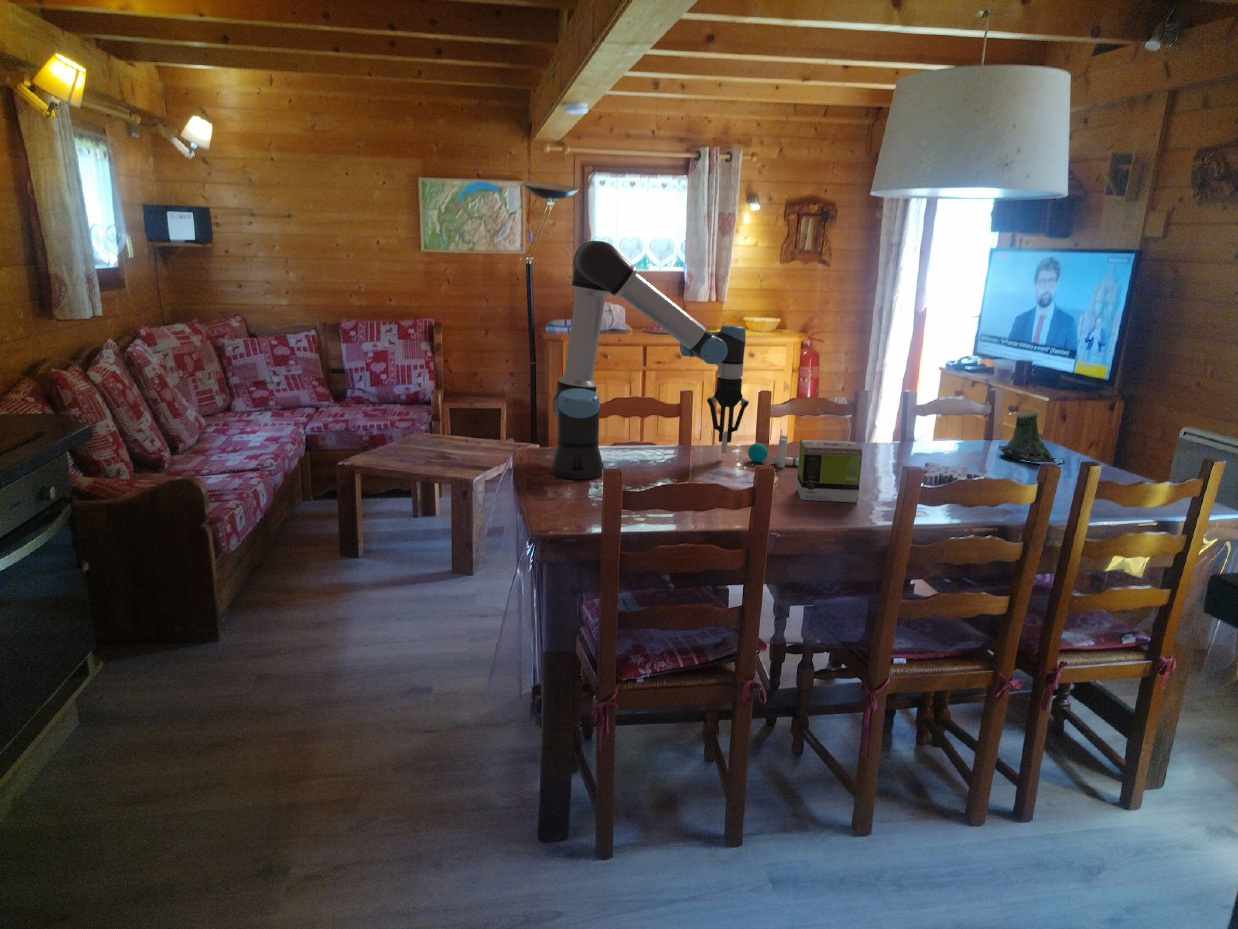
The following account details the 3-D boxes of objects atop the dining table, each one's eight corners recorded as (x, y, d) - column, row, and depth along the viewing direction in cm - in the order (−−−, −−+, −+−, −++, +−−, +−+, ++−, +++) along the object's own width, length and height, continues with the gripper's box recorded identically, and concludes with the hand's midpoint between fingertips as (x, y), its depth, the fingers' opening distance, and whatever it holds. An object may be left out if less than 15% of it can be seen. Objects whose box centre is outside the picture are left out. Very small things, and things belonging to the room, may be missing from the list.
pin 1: (776, 462, 251) (778, 435, 249) (780, 461, 253) (782, 434, 250) (782, 464, 249) (785, 437, 247) (786, 462, 251) (789, 436, 249)
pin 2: (775, 466, 246) (777, 439, 244) (779, 465, 248) (782, 438, 246) (782, 468, 245) (784, 440, 242) (786, 466, 246) (788, 439, 244)
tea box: (851, 493, 222) (856, 440, 218) (857, 504, 212) (864, 449, 208) (795, 489, 223) (800, 437, 219) (799, 500, 214) (804, 446, 210)
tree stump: (1078, 468, 259) (1077, 415, 253) (1017, 481, 259) (1014, 428, 253) (1047, 451, 276) (1044, 401, 270) (989, 463, 276) (985, 414, 271)
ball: (773, 458, 248) (757, 469, 250) (768, 447, 253) (752, 458, 255) (763, 446, 245) (747, 457, 247) (757, 435, 250) (742, 447, 252)
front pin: (773, 455, 248) (801, 457, 246) (773, 457, 250) (801, 459, 249) (772, 462, 247) (800, 464, 246) (772, 465, 250) (800, 467, 248)
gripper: (752, 376, 248) (746, 451, 254) (709, 373, 250) (704, 447, 257) (750, 380, 241) (744, 457, 247) (706, 377, 243) (701, 453, 250)
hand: (724, 452), depth 252 cm, fingers closed
